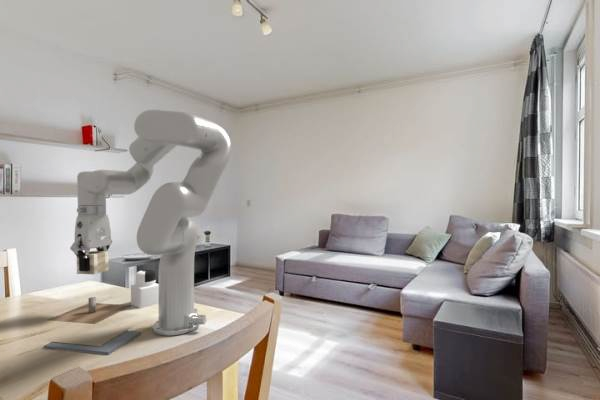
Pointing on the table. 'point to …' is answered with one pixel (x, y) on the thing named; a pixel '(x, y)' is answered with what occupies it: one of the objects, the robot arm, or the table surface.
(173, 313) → the robot arm
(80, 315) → the peg stand
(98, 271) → the ring block
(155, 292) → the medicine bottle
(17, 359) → the table surface
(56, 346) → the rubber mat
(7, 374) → the table surface
